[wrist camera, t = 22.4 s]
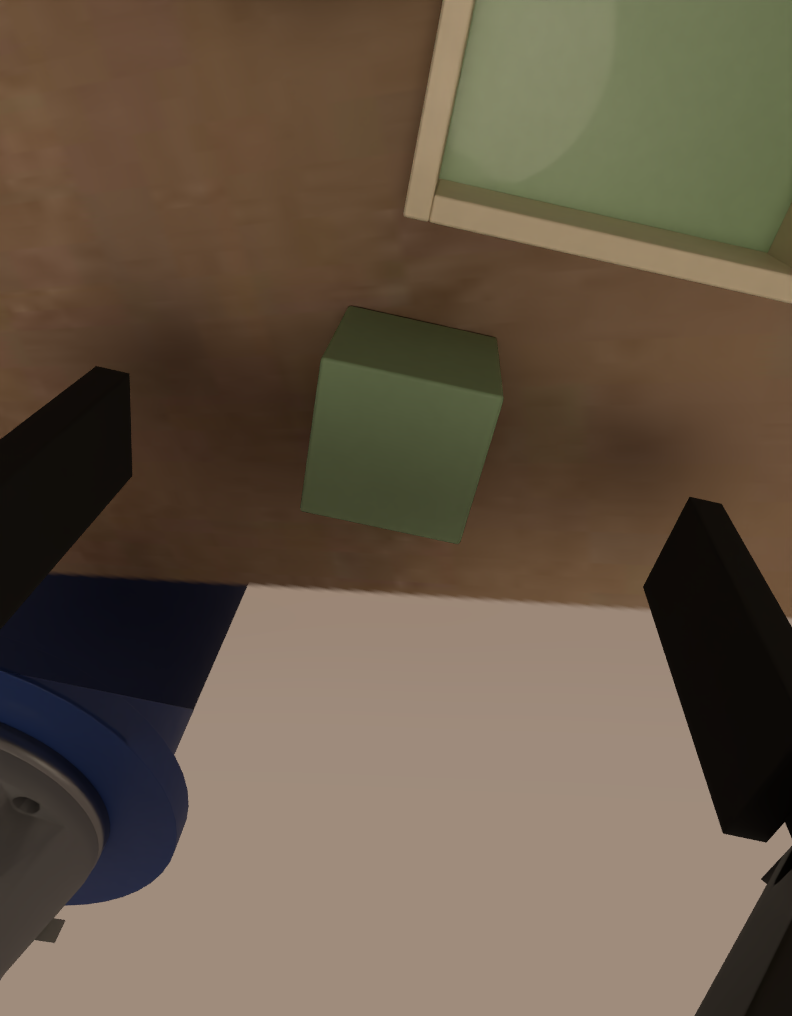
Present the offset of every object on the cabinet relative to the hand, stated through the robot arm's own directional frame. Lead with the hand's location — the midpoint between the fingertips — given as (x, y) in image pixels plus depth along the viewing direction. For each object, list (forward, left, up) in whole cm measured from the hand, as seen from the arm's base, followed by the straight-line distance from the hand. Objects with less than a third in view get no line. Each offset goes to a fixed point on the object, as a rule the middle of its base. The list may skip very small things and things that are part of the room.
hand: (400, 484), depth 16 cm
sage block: (0, 0, -6) cm, 6 cm away
